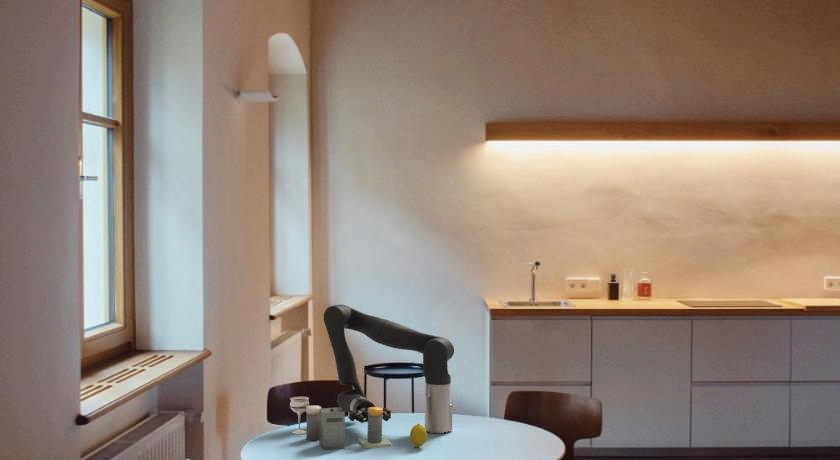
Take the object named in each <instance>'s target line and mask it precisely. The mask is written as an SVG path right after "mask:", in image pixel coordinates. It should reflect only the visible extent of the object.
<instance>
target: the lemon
mask: <svg viewBox="0 0 840 460" xmlns="http://www.w3.org/2000/svg"><path fill="white" fill-rule="evenodd" d="M427 433H428V432H427V431H426V429H425V426H424V425H422V424H421V423H417V424H415V425H414V426H412V427H411V430H410V433H409V434H410V435H409V438H410V439H409V440H410V442H411V444H412V445H413V446H415V447H416V448H417V449H420V448H421V447H422V446H424V445H425V444H426V442H427V439H428V435H427Z"/></svg>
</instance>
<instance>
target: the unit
mask: <svg viewBox="0 0 840 460" xmlns="http://www.w3.org/2000/svg"><path fill="white" fill-rule="evenodd" d="M345 414H346V412H345V411H343V410H342V409H341V408H340V407H339V406H338V407H327V408H326V407H324V408H322V407H321V409H320V420H319V440H318V445H319V446H320V447H321V449H322V450H323V451H327V450H339V449H341V450H342V449H345V446H346V445H345V444H346V443H345V440H346V439H345V437H346V436H345V433H346V431H345V427H346V425H345V424H346V423H345V422H346V421H345V420H346V415H345Z"/></svg>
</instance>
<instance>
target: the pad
mask: <svg viewBox="0 0 840 460" xmlns="http://www.w3.org/2000/svg"><path fill="white" fill-rule="evenodd" d="M358 443H359V444H360V445H361V446H362V447H363V448H364V449H372V448H373V449H374V448H375V449H376V448H385V447H387V448H388V447H392V443H391V442H390V441H389V440H388V439H387V438H385V437H384V436H382V442H380V443H369V442H367V438H359V439H358Z"/></svg>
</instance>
